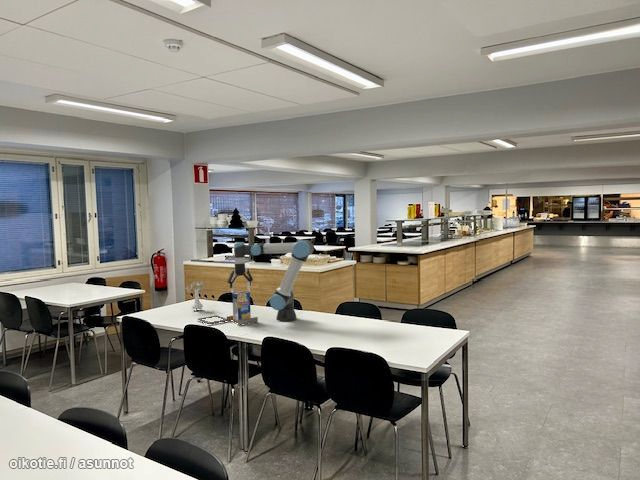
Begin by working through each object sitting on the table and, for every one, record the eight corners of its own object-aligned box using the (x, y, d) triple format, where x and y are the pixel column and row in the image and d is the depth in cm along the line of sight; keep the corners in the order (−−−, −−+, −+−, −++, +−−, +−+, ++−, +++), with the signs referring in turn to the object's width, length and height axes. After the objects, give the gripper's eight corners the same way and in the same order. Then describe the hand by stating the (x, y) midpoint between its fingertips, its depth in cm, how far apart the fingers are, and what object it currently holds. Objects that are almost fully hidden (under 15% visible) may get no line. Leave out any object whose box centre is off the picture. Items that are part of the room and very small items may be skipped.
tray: (228, 321, 348) (228, 319, 348) (208, 325, 338) (208, 322, 338) (217, 317, 364) (217, 315, 364) (197, 321, 354) (197, 318, 354)
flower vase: (183, 312, 389) (182, 282, 388) (198, 308, 406) (197, 279, 405) (195, 313, 384) (194, 283, 382) (210, 309, 400) (209, 280, 399)
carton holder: (257, 322, 344) (257, 317, 343) (238, 326, 334) (238, 320, 334) (245, 318, 358) (245, 313, 358) (226, 321, 348) (226, 316, 348)
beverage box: (233, 322, 345) (232, 293, 344) (245, 320, 352) (244, 291, 351) (238, 324, 340) (237, 294, 339) (250, 321, 347) (249, 292, 346)
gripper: (252, 261, 354) (252, 289, 355) (222, 264, 339) (223, 292, 340) (257, 262, 348) (257, 290, 350) (226, 264, 333) (227, 294, 334)
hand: (240, 291), depth 345 cm, fingers open, 13 cm apart
